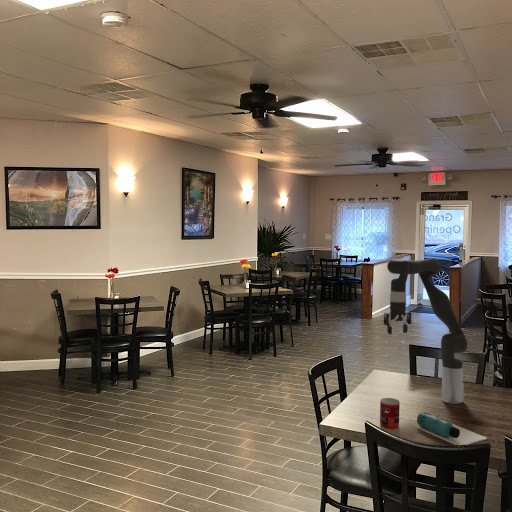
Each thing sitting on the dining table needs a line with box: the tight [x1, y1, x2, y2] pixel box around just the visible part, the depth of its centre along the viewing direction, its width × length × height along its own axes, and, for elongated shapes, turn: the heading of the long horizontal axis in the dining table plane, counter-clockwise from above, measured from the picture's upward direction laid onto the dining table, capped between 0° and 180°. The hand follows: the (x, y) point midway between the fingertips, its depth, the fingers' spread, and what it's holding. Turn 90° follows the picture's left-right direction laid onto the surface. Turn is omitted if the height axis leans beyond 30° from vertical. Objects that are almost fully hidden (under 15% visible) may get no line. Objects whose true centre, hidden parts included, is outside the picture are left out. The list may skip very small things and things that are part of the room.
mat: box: [416, 423, 488, 446], centre depth 219 cm, size 22×16×1 cm
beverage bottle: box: [416, 411, 460, 438], centre depth 218 cm, size 6×7×20 cm
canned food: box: [379, 397, 401, 430], centre depth 227 cm, size 8×8×11 cm
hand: (397, 333), depth 258 cm, fingers open, 8 cm apart
